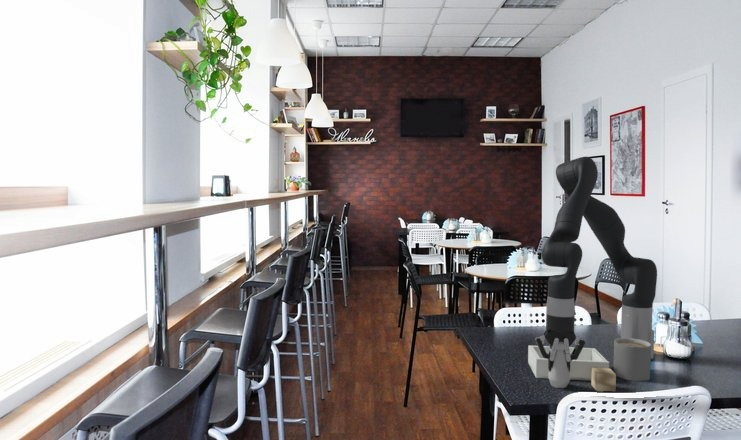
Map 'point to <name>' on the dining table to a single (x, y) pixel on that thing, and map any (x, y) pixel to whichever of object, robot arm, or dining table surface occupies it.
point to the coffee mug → (632, 359)
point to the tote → (578, 368)
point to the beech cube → (603, 379)
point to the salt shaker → (559, 368)
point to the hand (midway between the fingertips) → (558, 373)
